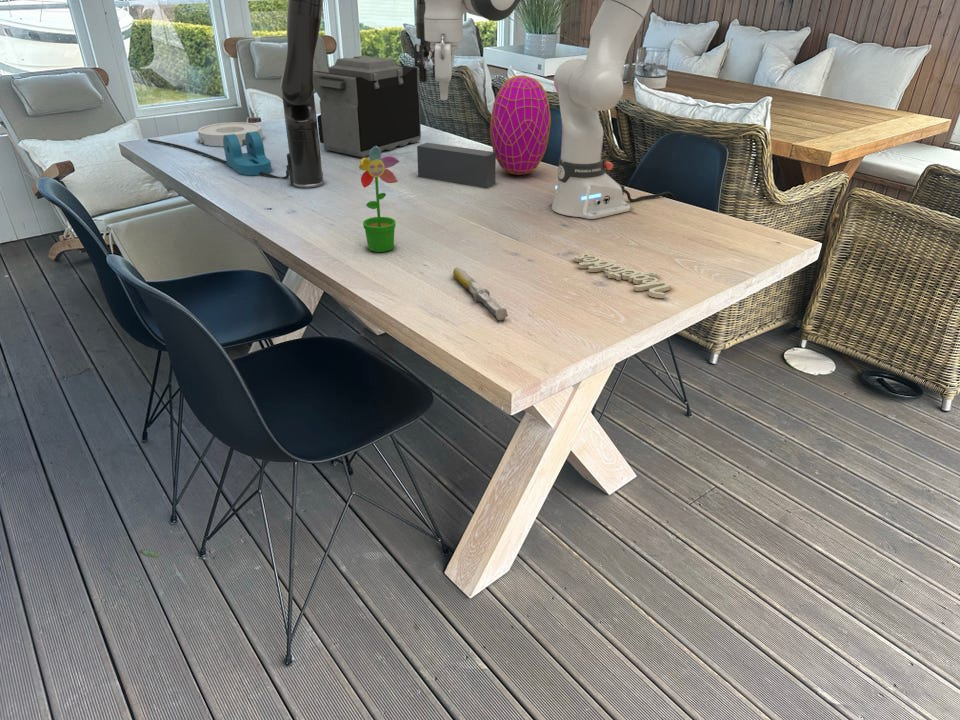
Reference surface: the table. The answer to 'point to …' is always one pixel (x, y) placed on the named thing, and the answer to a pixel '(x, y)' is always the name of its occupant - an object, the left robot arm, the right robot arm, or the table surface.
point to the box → (456, 164)
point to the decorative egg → (520, 125)
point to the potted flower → (378, 227)
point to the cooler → (367, 105)
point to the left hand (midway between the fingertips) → (430, 79)
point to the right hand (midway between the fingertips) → (444, 96)
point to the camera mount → (246, 154)
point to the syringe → (479, 293)
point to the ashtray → (226, 132)
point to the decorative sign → (625, 274)
